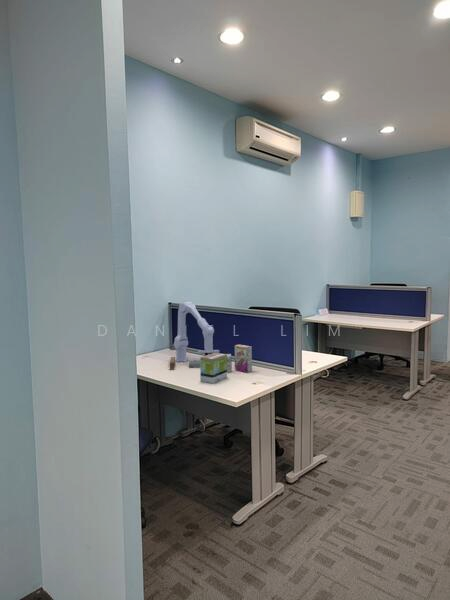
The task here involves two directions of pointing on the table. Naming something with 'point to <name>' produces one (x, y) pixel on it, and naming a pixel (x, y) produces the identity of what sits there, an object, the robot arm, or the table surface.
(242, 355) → the candy bar box
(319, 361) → the table surface
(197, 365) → the steel slab
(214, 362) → the tea box
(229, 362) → the light bulb box
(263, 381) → the table surface
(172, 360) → the stop bar
